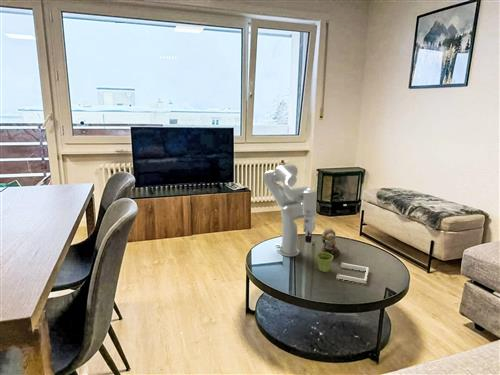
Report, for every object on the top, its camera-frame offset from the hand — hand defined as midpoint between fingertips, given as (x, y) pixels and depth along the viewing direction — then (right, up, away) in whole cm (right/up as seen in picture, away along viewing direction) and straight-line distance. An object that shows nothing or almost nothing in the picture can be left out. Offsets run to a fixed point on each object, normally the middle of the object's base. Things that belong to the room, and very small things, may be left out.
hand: (308, 242), depth 195 cm
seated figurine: (+17, -11, +21) cm, 30 cm away
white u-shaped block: (+24, -18, -6) cm, 30 cm away
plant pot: (+9, -16, +1) cm, 19 cm away
